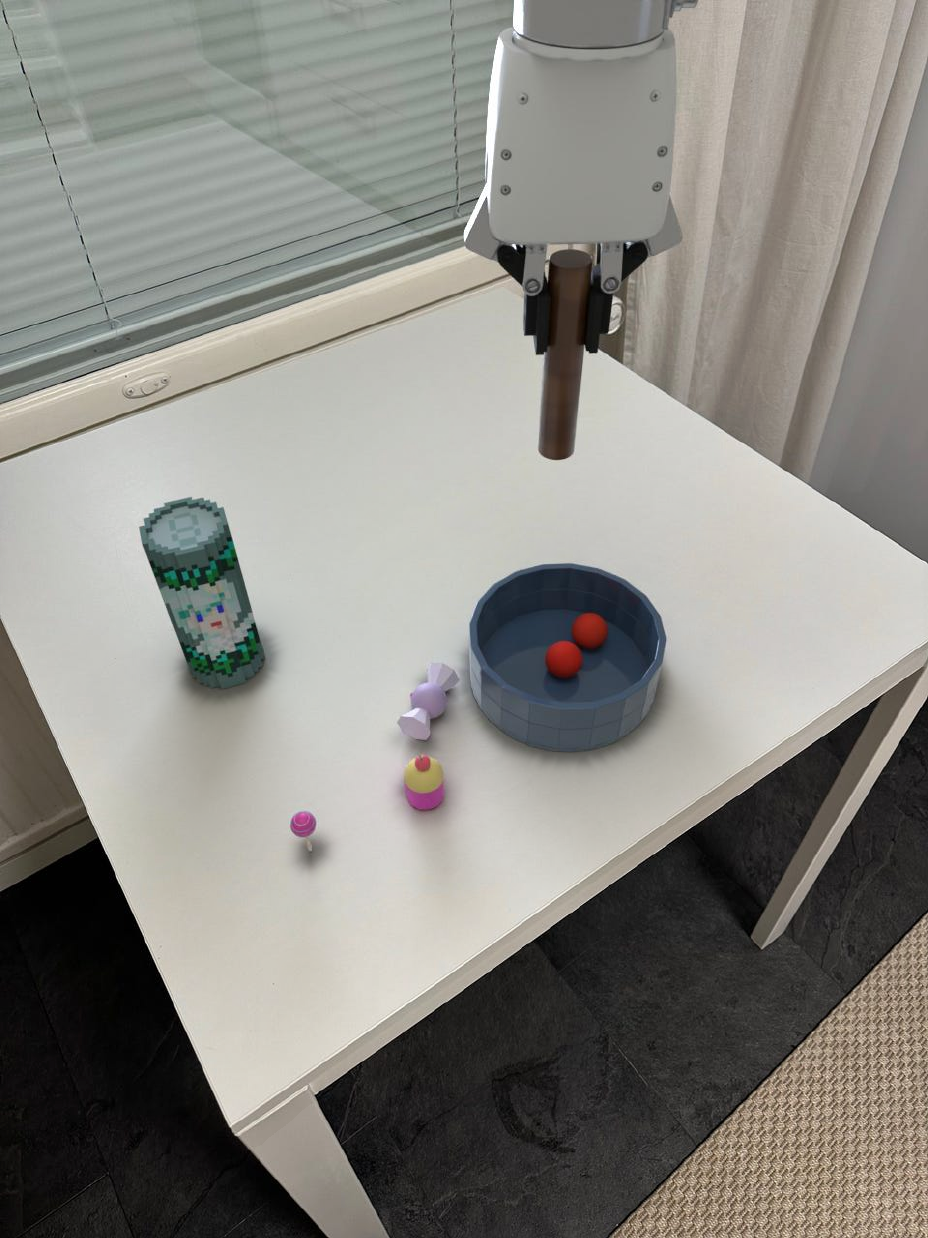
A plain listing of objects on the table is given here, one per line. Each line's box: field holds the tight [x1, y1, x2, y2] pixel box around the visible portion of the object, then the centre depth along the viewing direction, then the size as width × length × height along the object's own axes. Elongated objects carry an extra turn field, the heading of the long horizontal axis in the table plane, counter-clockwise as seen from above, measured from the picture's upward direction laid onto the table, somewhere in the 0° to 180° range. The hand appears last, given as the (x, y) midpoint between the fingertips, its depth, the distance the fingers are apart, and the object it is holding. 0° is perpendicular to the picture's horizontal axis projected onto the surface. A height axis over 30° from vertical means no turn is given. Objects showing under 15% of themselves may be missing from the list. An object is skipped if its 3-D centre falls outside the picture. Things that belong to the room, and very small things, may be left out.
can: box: [138, 496, 266, 690], centre depth 70 cm, size 6×6×15 cm
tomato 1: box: [545, 641, 583, 678], centre depth 72 cm, size 3×3×3 cm
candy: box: [289, 662, 460, 852], centre depth 65 cm, size 18×8×6 cm, turn 157°
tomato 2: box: [572, 613, 608, 649], centre depth 74 cm, size 3×3×3 cm
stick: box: [537, 248, 594, 461], centre depth 59 cm, size 3×3×14 cm
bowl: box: [468, 562, 668, 753], centre depth 72 cm, size 15×15×6 cm
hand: (564, 340), depth 57 cm, fingers closed on stick, 2 cm apart
